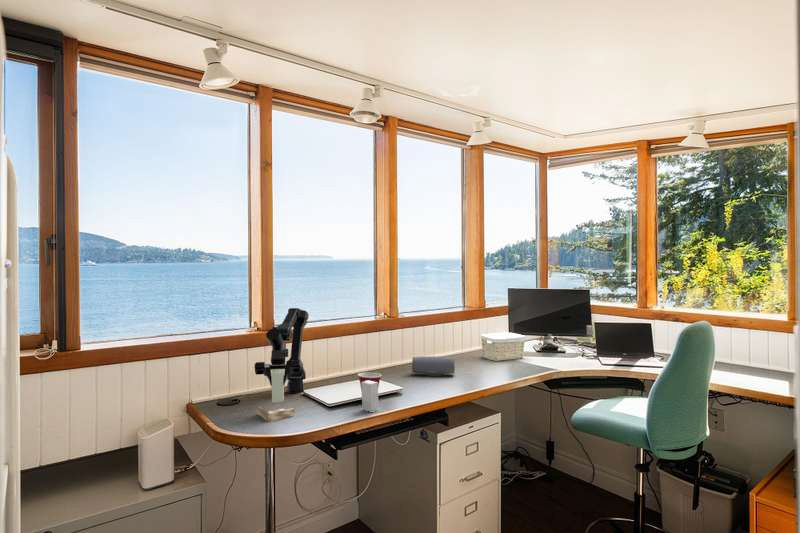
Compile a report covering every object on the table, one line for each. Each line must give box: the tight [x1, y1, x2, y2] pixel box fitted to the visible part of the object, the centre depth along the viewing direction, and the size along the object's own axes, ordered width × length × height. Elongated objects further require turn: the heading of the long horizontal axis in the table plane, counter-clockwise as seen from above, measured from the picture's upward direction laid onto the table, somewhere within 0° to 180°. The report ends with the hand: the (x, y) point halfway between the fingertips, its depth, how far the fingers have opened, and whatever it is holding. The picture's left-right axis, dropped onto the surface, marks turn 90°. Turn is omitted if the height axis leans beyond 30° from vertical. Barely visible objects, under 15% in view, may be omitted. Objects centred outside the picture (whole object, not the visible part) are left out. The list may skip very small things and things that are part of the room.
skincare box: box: [360, 380, 380, 413], centre depth 204 cm, size 6×4×12 cm
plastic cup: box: [357, 372, 382, 392], centre depth 218 cm, size 11×11×12 cm
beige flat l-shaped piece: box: [257, 406, 295, 422], centre depth 198 cm, size 11×11×3 cm
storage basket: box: [480, 332, 526, 362], centre depth 306 cm, size 24×16×15 cm
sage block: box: [271, 369, 285, 403], centre depth 199 cm, size 4×4×12 cm
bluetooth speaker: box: [411, 356, 456, 377], centre depth 264 cm, size 23×9×10 cm, turn 84°
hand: (277, 385), depth 198 cm, fingers closed on sage block, 4 cm apart
